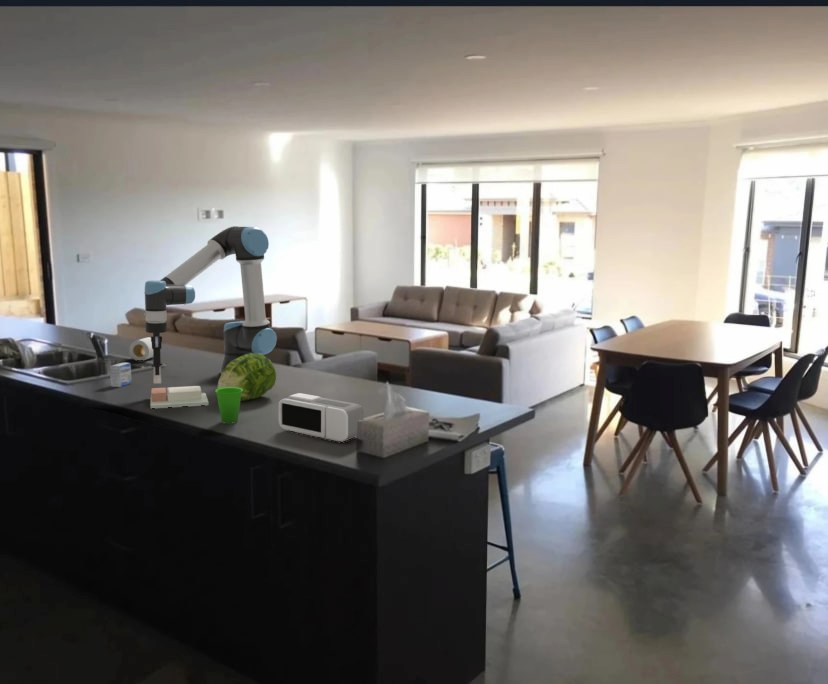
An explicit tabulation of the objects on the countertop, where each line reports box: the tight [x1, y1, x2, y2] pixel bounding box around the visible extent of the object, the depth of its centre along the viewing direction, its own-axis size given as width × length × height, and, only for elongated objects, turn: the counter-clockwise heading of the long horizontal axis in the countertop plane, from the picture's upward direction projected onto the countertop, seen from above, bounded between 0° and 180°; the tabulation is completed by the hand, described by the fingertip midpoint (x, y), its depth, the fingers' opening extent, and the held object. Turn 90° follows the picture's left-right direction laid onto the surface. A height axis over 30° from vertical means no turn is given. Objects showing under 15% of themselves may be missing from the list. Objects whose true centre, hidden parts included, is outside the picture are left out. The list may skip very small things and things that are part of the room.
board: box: [149, 392, 209, 409], centre depth 272 cm, size 20×15×1 cm
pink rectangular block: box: [151, 387, 167, 402], centre depth 272 cm, size 5×9×3 cm, turn 20°
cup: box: [214, 387, 243, 424], centre depth 247 cm, size 9×9×11 cm
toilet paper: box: [128, 336, 153, 362], centre depth 352 cm, size 10×10×10 cm
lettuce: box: [217, 353, 277, 402], centre depth 277 cm, size 17×23×17 cm
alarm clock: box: [278, 392, 364, 443], centre depth 234 cm, size 27×9×12 cm, turn 59°
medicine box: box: [109, 362, 132, 388], centre depth 297 cm, size 8×4×9 cm, turn 168°
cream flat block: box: [166, 385, 203, 401], centre depth 275 cm, size 12×9×3 cm
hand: (157, 382), depth 280 cm, fingers closed
